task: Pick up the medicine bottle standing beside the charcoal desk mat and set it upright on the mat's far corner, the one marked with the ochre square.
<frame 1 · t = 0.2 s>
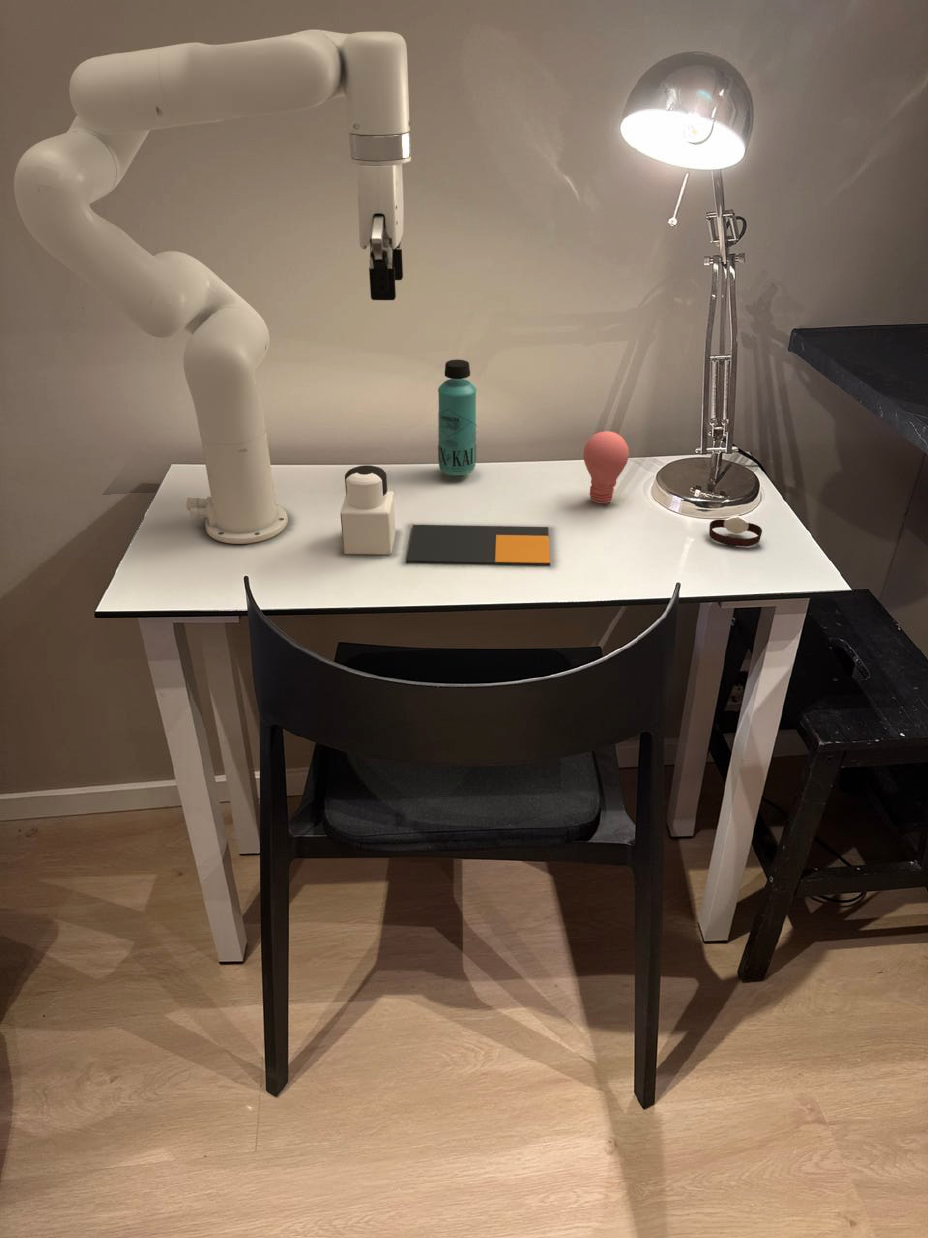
hand: (387, 289, 128), 36 cm above the table, tool pointing down, fingers open, 9 cm apart
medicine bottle: (370, 544, 145), on the table
beverage bottle: (457, 476, 164), on the table
desk mat: (479, 545, 144), on the table
watch: (733, 541, 145), on the table
light bulb: (601, 503, 156), on the table
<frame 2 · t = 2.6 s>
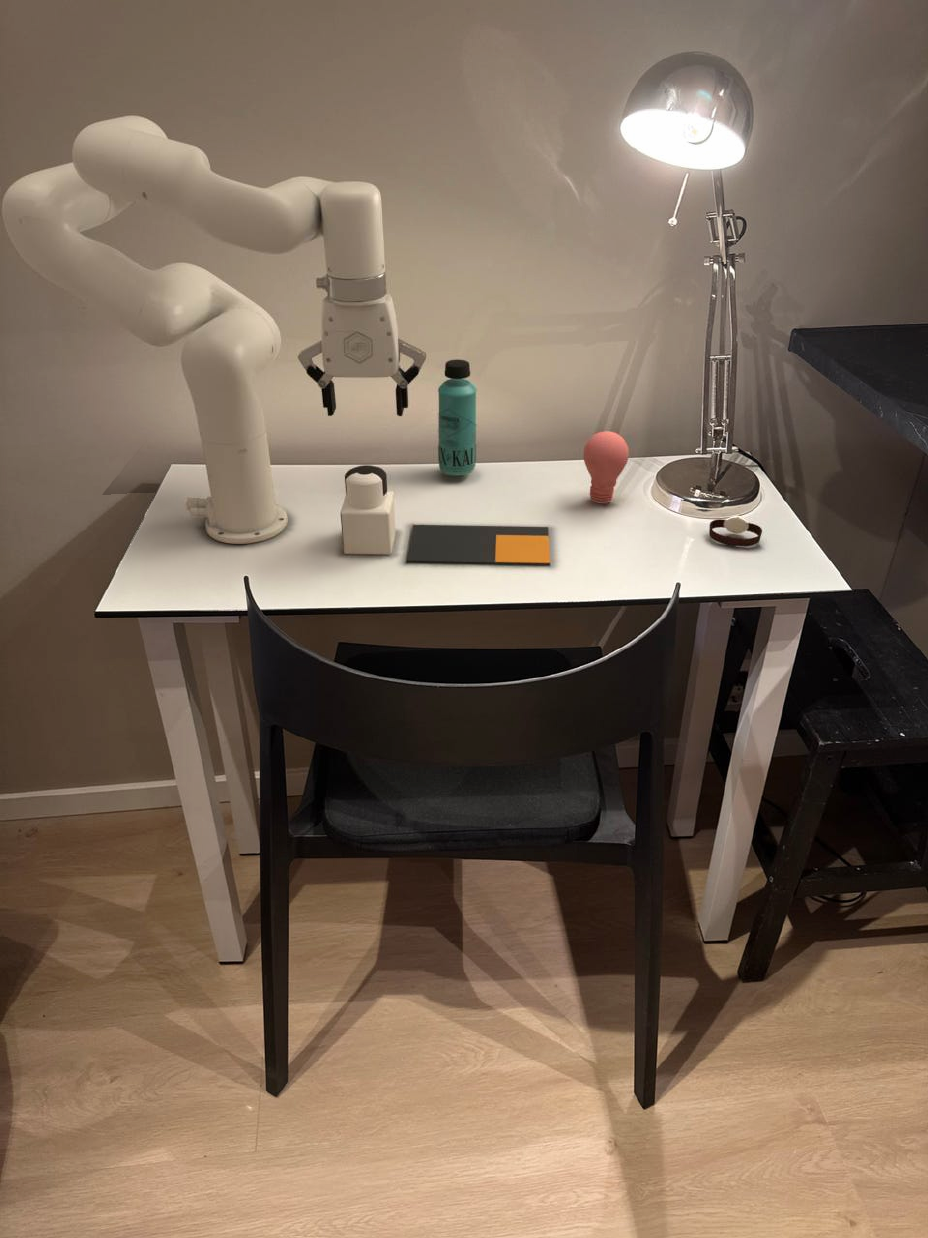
hand: (366, 412, 133), 21 cm above the table, tool pointing down, fingers open, 9 cm apart
nothing on the table moved.
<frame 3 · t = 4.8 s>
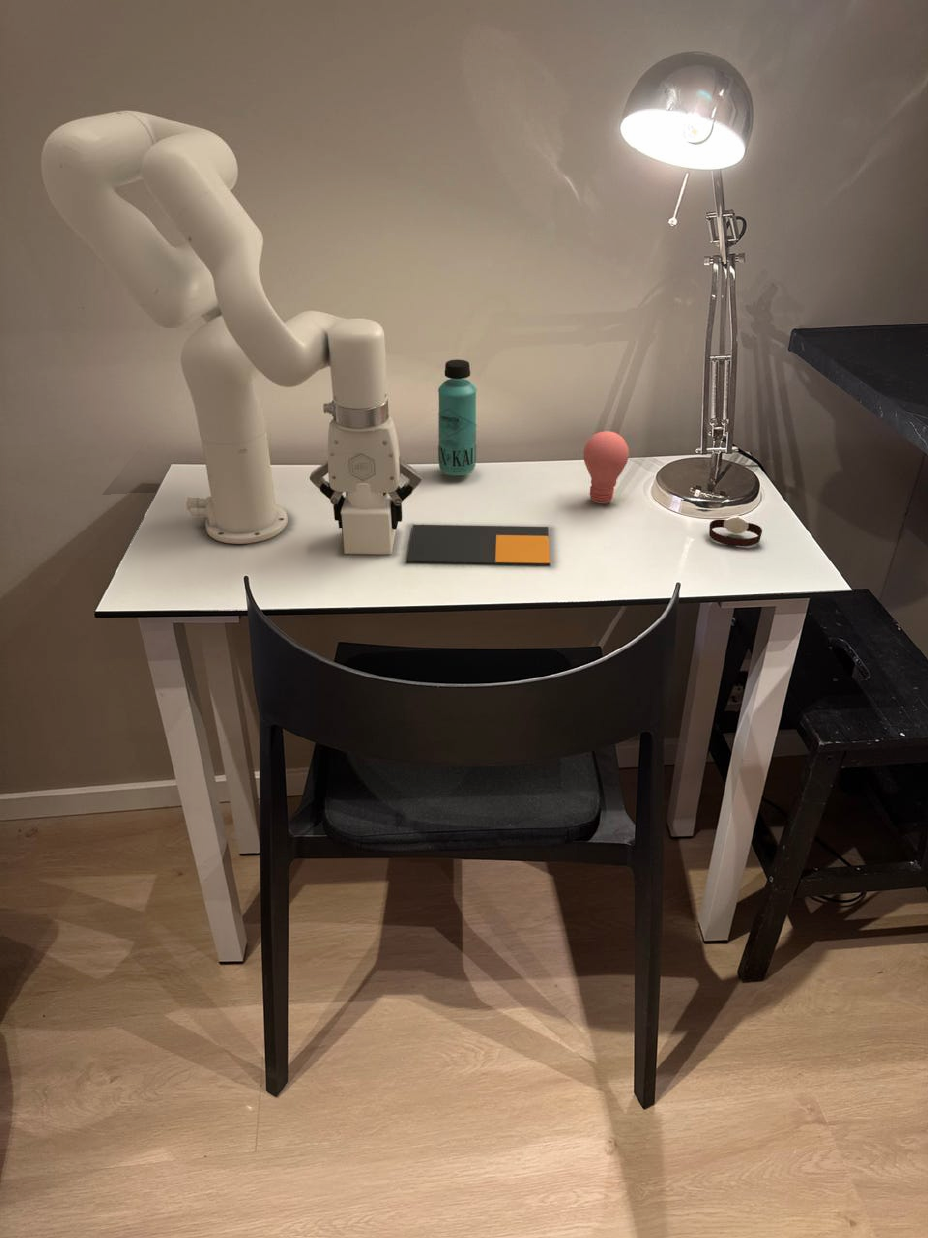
hand: (369, 523, 143), 3 cm above the table, tool pointing down, fingers closed on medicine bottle, 7 cm apart
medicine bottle: (370, 544, 145), on the table, touching gripper
everything else where it was.
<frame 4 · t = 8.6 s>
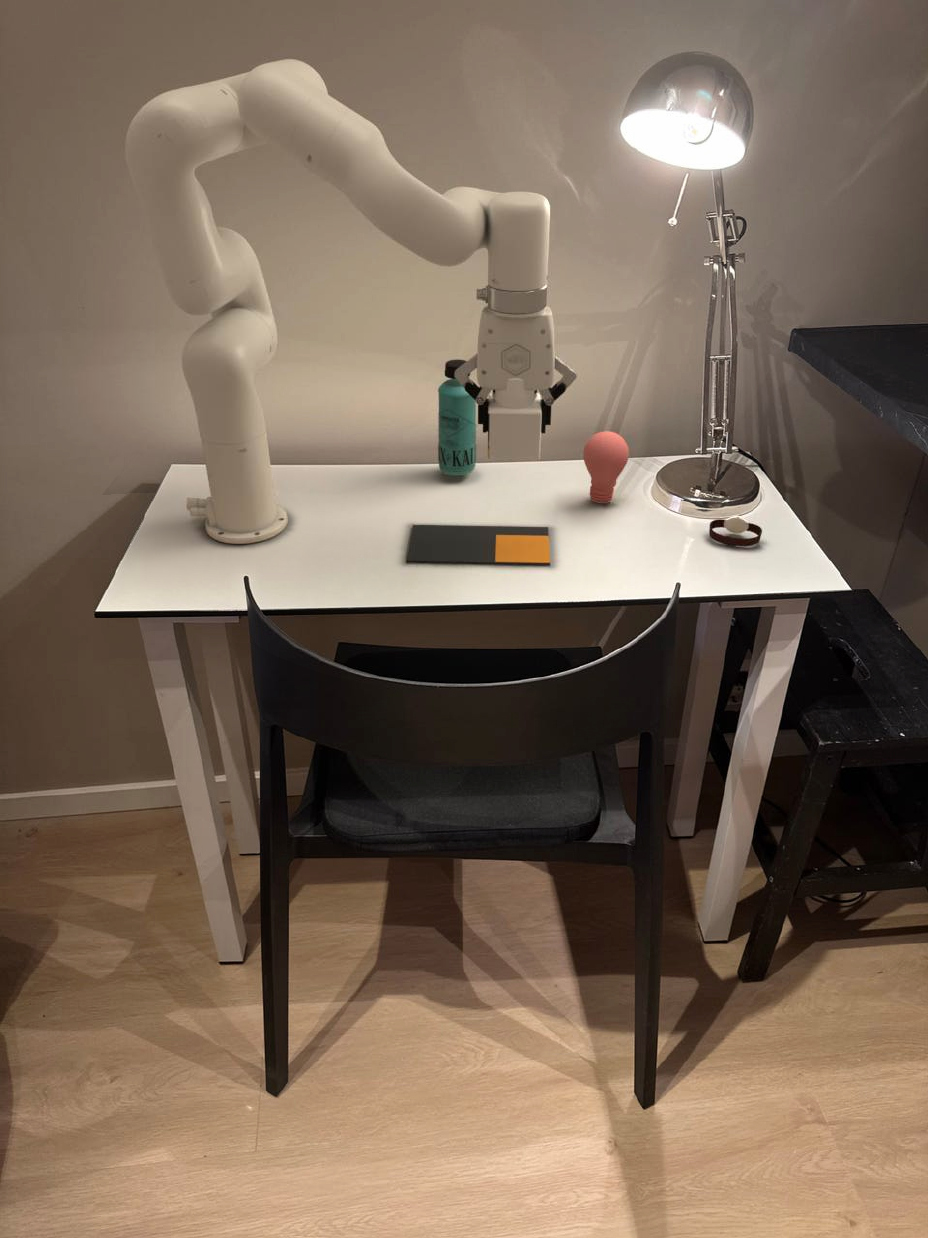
hand: (514, 428, 132), 19 cm above the table, tool pointing down, fingers closed on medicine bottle, 7 cm apart
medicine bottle: (513, 451, 134), point 16 cm above the table, touching gripper
everything else where it was.
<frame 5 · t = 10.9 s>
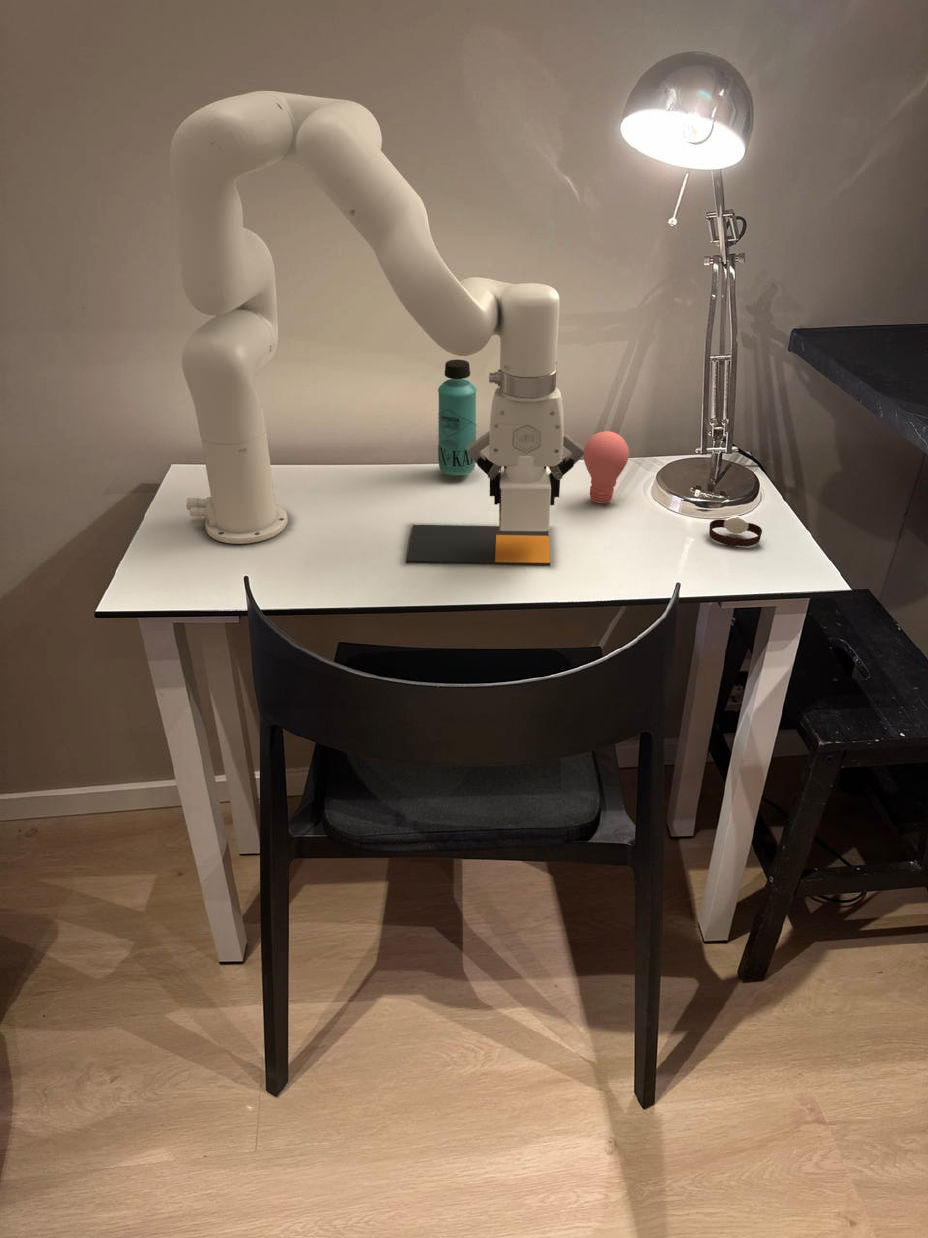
hand: (524, 499, 137), 9 cm above the table, tool pointing down, fingers closed on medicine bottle, 7 cm apart
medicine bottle: (523, 521, 139), point 5 cm above the table, touching gripper
everything else where it was.
when the fingers open (4 cm above the table, at t = 12.6 s): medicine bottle stays where it is, resting on desk mat.
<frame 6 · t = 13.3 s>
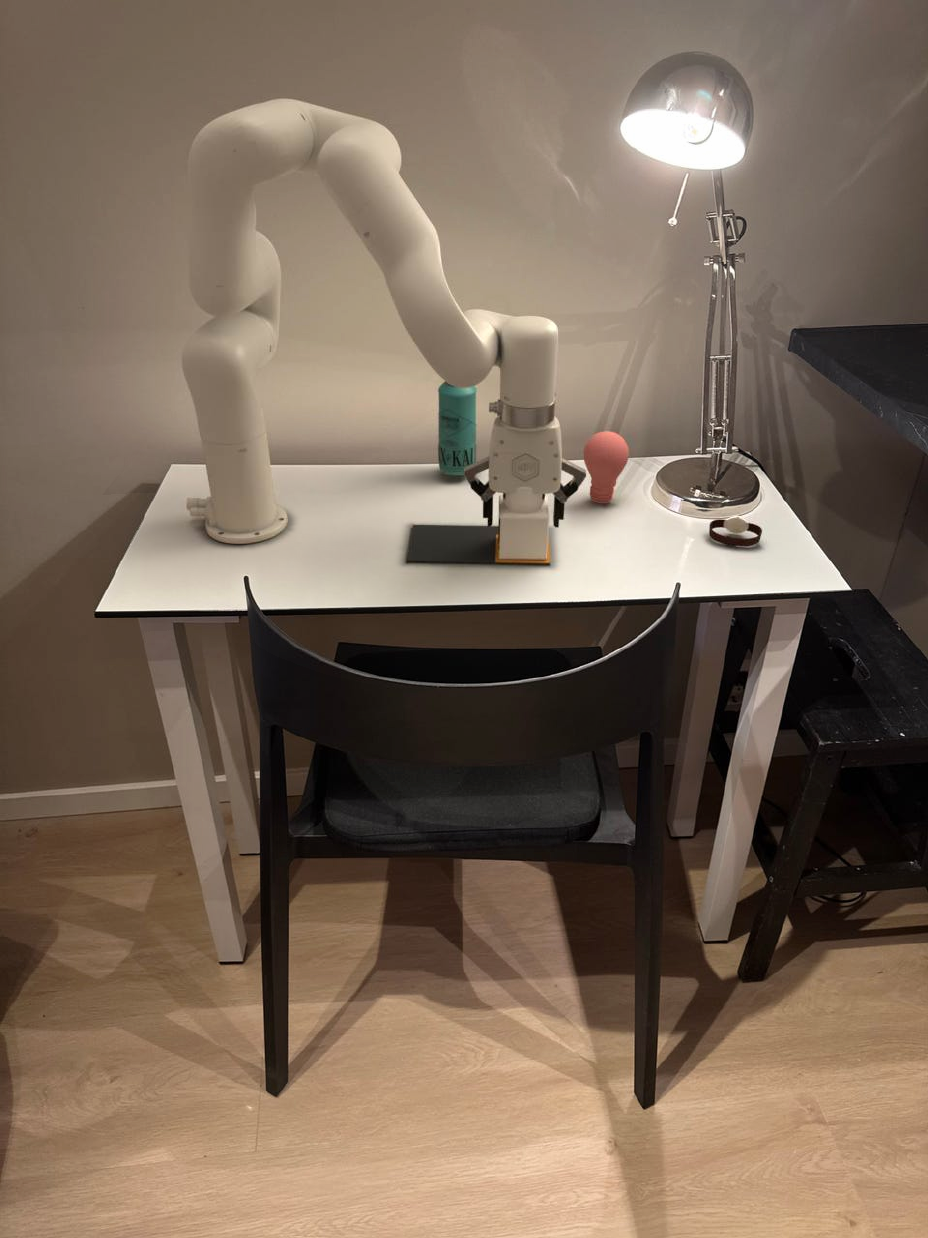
hand: (522, 522, 140), 5 cm above the table, tool pointing down, fingers open, 9 cm apart
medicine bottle: (522, 549, 142), resting on desk mat
everything else where it was.
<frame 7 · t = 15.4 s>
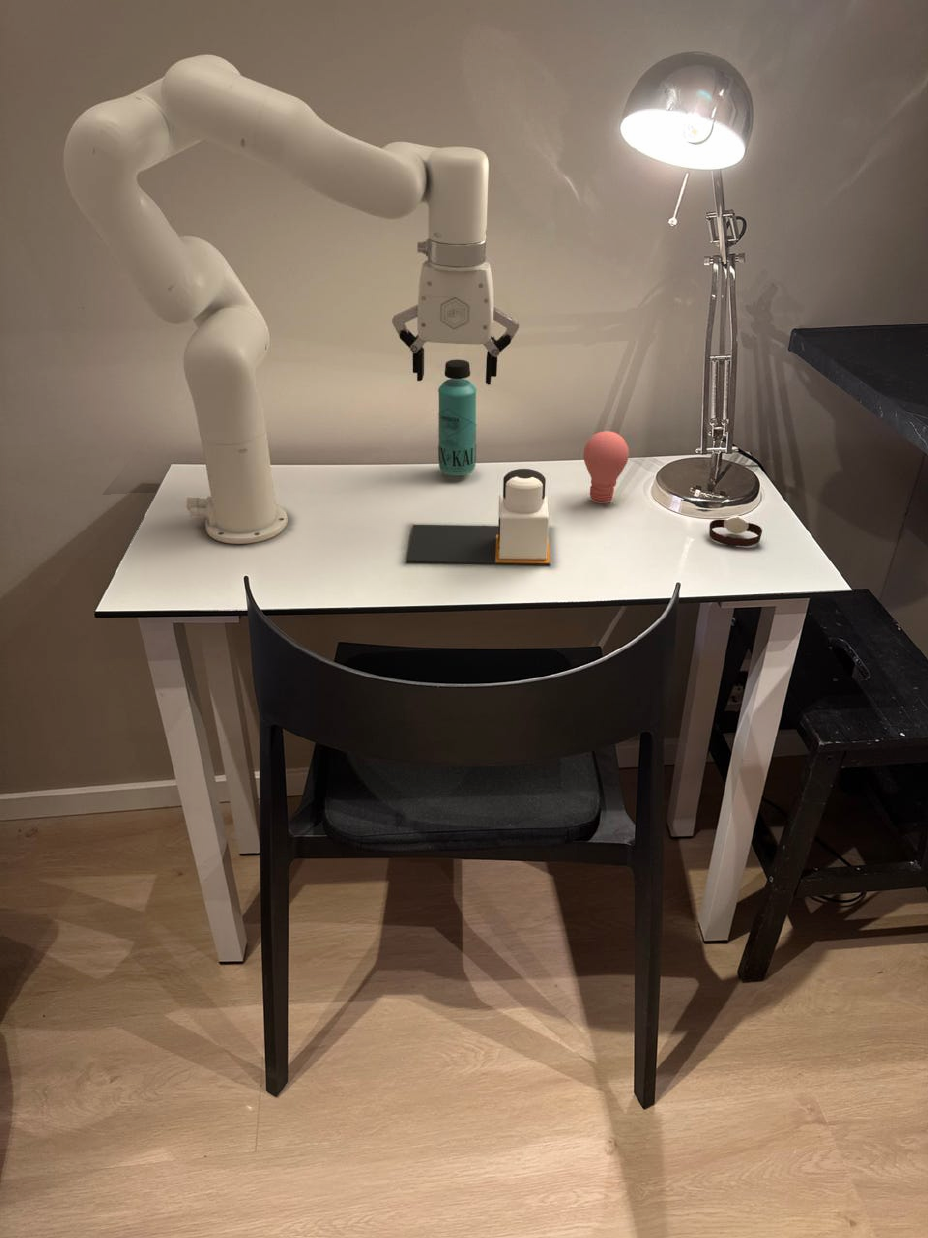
hand: (454, 379, 134), 24 cm above the table, tool pointing down, fingers open, 9 cm apart
nothing on the table moved.
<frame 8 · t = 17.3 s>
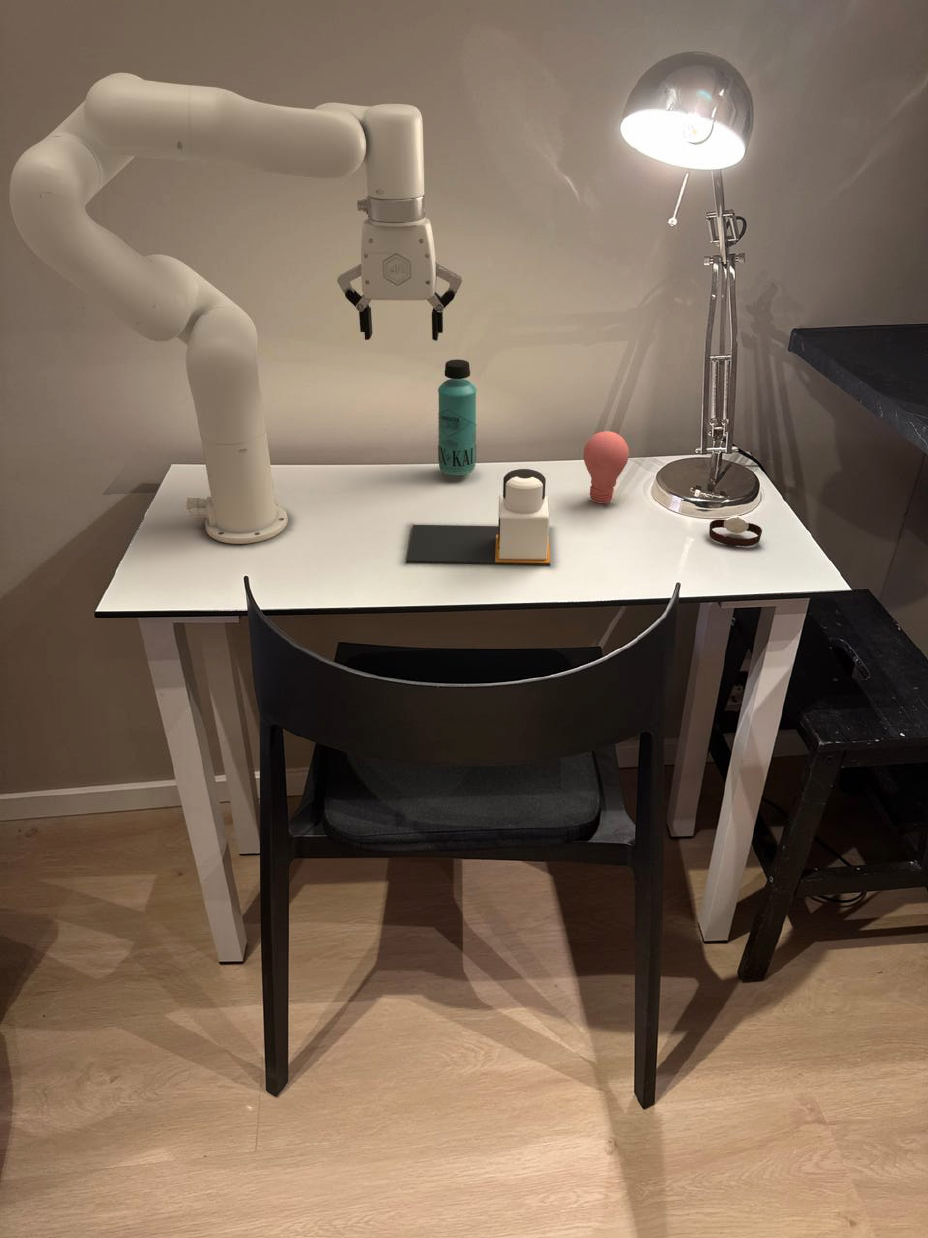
hand: (402, 337, 137), 28 cm above the table, tool pointing down, fingers open, 9 cm apart
nothing on the table moved.
at the end: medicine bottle inside the target area on the desk mat (0.3 cm from its centre), point 0.3 cm above the desk mat's base; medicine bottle tilted 0°; the gripper is holding nothing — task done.
